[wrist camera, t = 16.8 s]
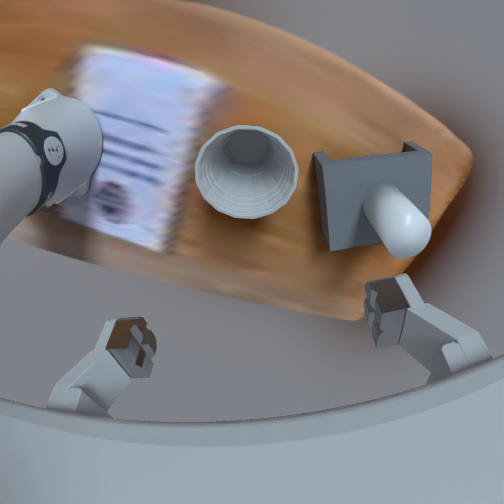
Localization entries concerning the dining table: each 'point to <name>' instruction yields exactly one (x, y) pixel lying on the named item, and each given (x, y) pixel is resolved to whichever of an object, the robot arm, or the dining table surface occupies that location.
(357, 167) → the shelf
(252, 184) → the plastic cup
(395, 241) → the white rounded domed part
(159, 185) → the dining table surface
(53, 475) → the robot arm
